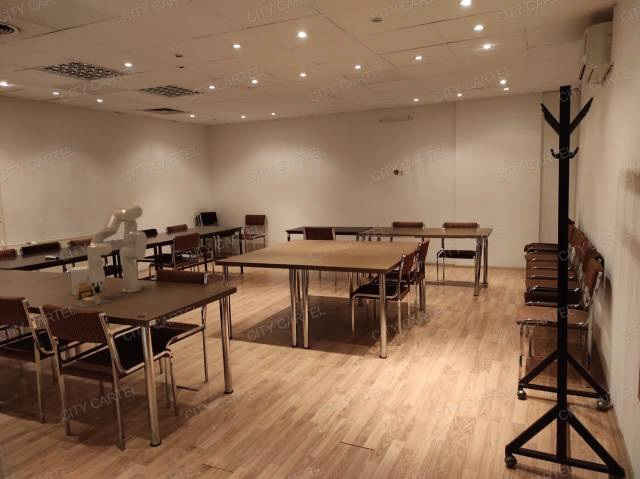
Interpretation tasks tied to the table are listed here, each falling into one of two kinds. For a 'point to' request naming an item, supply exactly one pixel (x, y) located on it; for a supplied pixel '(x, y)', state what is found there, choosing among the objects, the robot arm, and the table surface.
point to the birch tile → (91, 300)
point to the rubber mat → (92, 304)
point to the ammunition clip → (84, 290)
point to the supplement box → (79, 278)
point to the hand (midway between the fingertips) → (97, 292)
